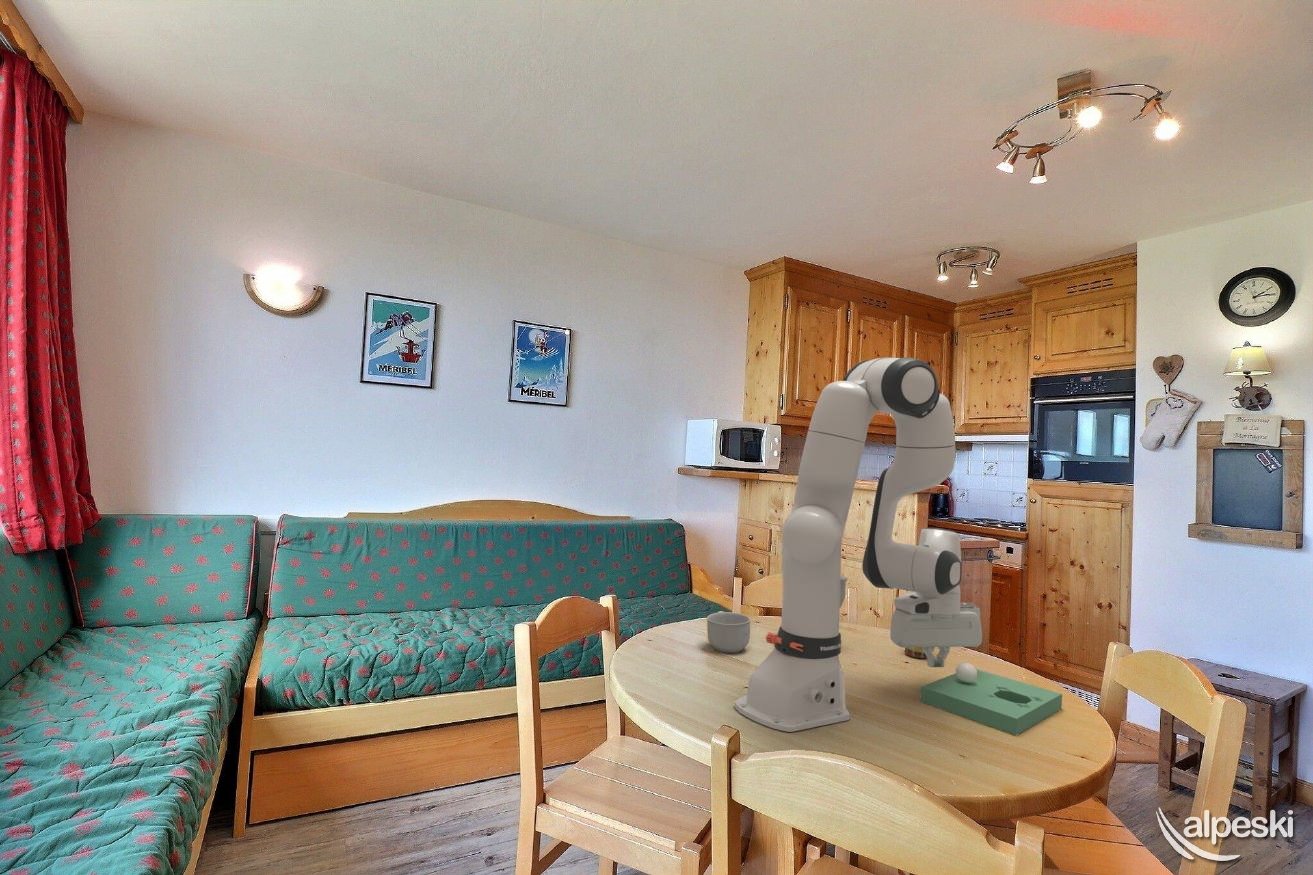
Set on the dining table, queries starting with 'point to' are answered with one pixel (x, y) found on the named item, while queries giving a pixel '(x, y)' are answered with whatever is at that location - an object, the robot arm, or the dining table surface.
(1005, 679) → the putting board
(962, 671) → the ball
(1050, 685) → the dining table surface
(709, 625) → the teacup
